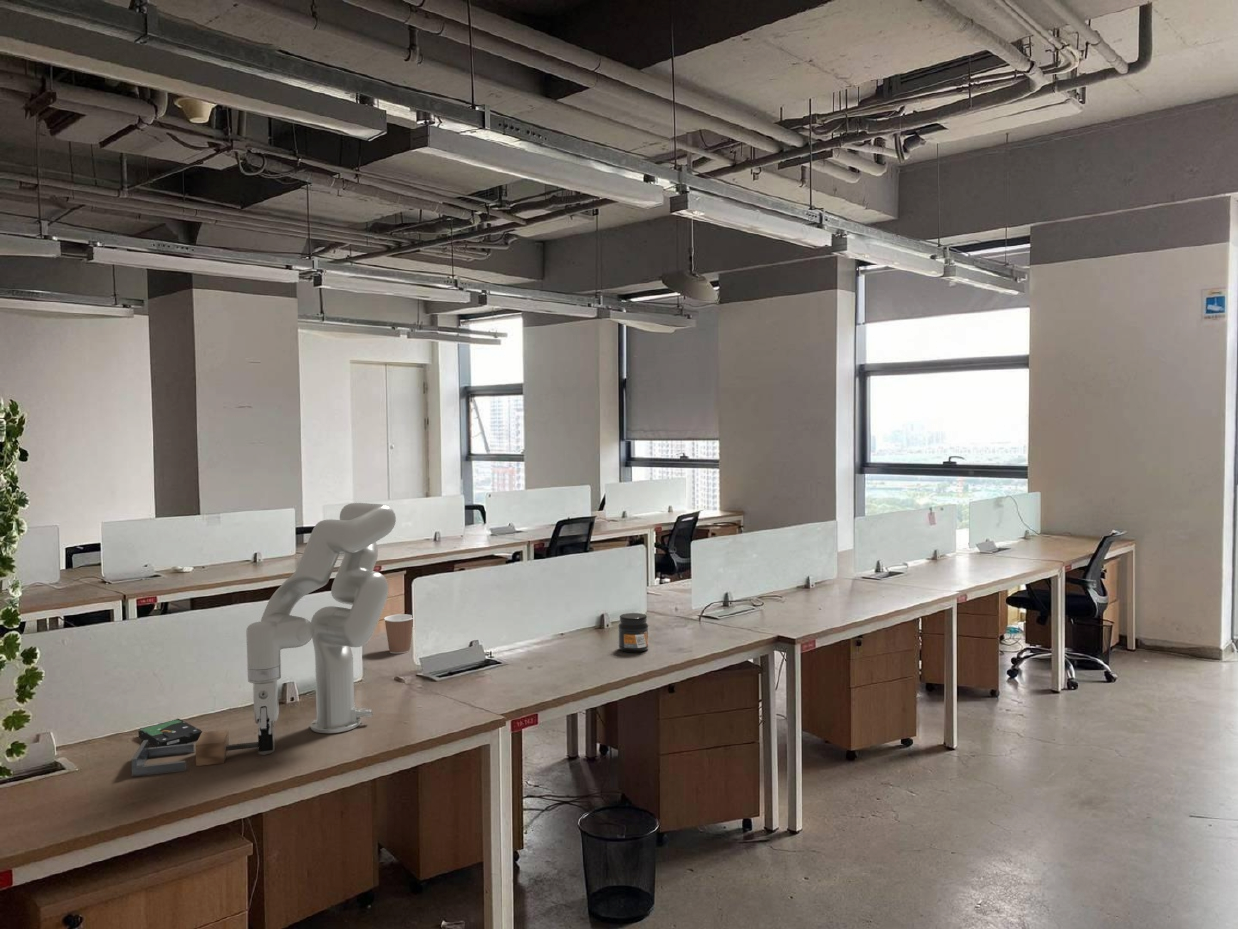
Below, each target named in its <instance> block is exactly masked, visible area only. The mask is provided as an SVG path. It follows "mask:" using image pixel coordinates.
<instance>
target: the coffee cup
mask: <svg viewBox="0 0 1238 929" xmlns="http://www.w3.org/2000/svg"><path fill="white" fill-rule="evenodd" d="M383 620H384V624H385V632H386V638H387V644H388V649H389V650H388V651H389V653H390V654H395V655H396V654H397V655H400V654H406V653H409V652H411V647H412V637H413V636H412V635H413V627H414V626H413V625H414V618H412V614H403V613H399V614H392V615H387V616H385V617H384V618H383ZM412 626H413V627H412Z"/></svg>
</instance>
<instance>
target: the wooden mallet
mask: <svg viewBox="0 0 1238 929" xmlns="http://www.w3.org/2000/svg"><path fill="white" fill-rule="evenodd" d="M267 726H268V727H269V725H267ZM271 733H273V750H271V751H262V752H259V751H258V754H259V755H263V756H264V755H270V754H273V753H274V752H275V749H276V748H275V726H274V724H273V725H271ZM229 734H230V733H229V729H223V730H221V729H219V730H212V731H210V730H209V731H202V733H201V735H200V737H199V739H198V741H196V743H195V744H194V747H195V766H196V767H200V766H209V765H210V766H211V765H218V764H225V762H226V758H227V756H228V754H229V751H238V750H246V749H247V750H249V749H257V748H258V749H259V746H258V741H253V742H251V741H250V742H245V743H243V742H242V743H235V744H230V742H229V739H230V738H229V736H230V735H229ZM258 735H259V727H258V728H257V736H258Z"/></svg>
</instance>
